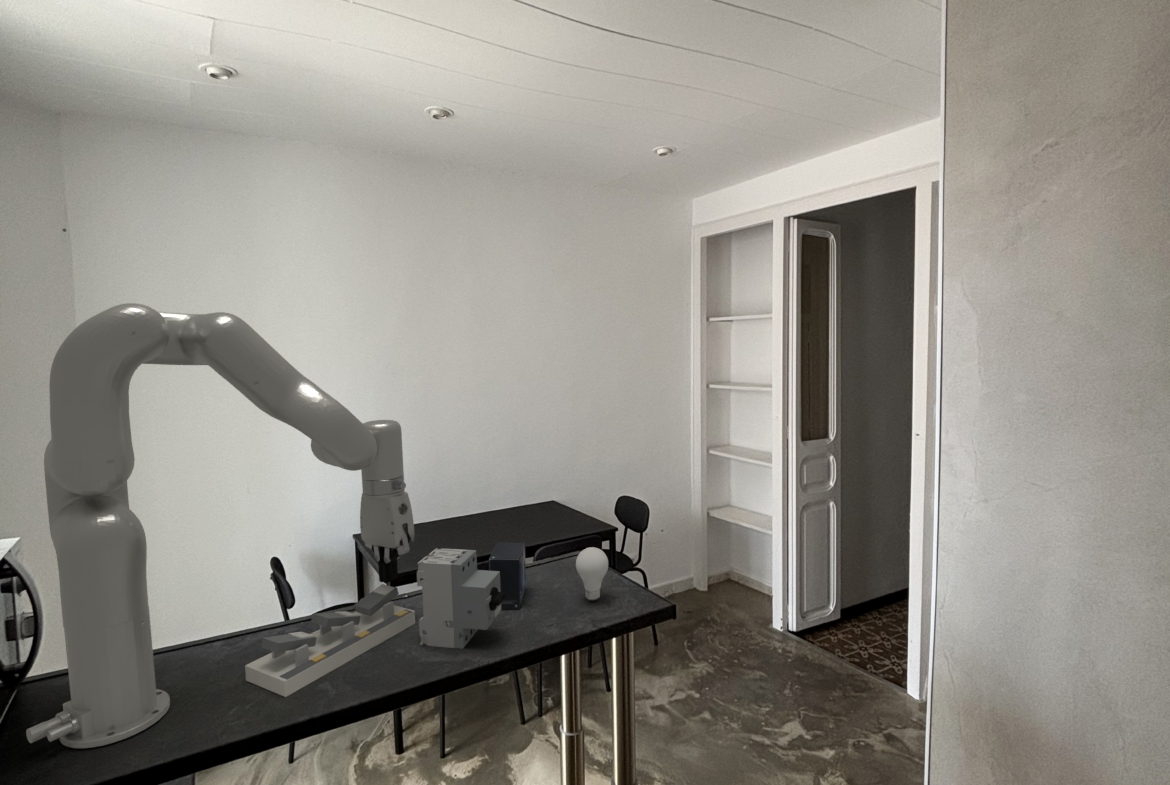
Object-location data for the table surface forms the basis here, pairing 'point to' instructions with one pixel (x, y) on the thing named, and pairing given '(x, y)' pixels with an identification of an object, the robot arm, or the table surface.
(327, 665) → the switch unit
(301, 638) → the rocker
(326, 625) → the rocker
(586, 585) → the light bulb
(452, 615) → the circuit breaker
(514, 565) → the small box
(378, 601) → the rocker
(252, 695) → the table surface
